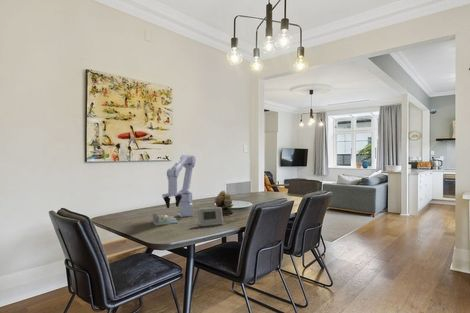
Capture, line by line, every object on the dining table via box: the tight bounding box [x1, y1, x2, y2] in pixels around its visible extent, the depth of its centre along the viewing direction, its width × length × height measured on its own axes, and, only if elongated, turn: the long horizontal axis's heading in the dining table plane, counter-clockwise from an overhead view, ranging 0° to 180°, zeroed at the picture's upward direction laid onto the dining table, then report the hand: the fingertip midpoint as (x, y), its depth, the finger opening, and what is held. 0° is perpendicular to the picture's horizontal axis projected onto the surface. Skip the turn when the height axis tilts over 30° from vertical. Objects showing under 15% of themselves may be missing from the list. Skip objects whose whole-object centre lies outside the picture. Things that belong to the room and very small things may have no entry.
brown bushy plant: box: [214, 190, 234, 216], centre depth 220 cm, size 18×12×17 cm, turn 48°
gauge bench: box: [152, 213, 179, 226], centre depth 189 cm, size 14×11×5 cm
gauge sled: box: [159, 214, 169, 220], centre depth 188 cm, size 5×5×4 cm
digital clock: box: [197, 206, 224, 227], centre depth 183 cm, size 16×9×11 cm, turn 102°
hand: (172, 207), depth 191 cm, fingers open, 6 cm apart
